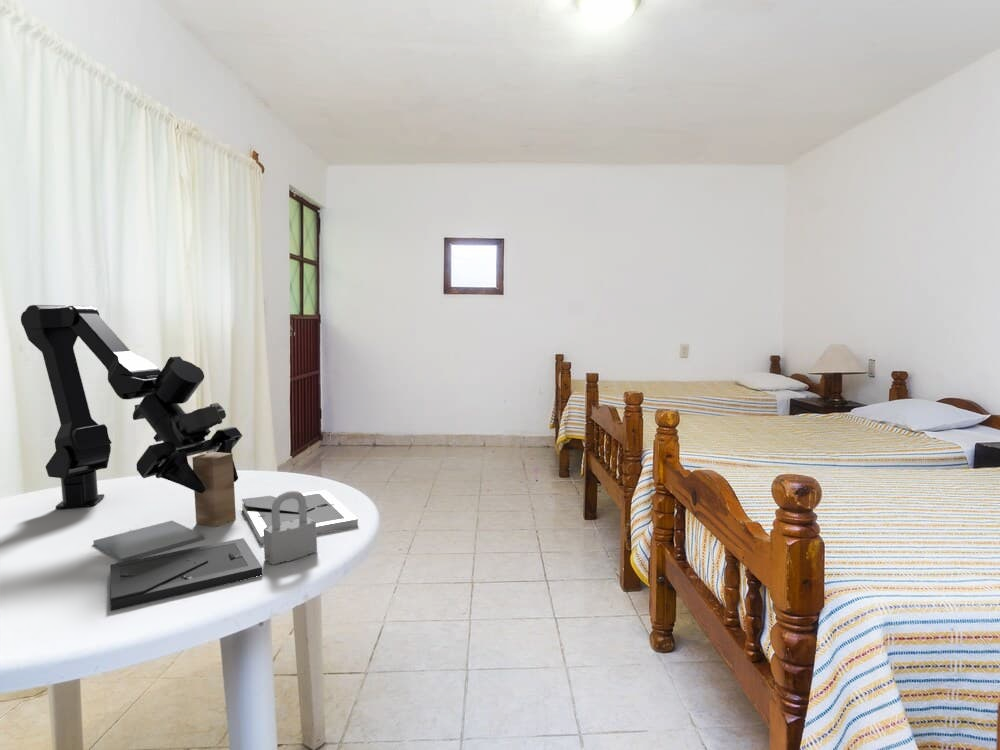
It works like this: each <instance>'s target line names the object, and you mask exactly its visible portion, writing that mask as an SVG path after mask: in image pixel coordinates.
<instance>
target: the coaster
mask: <svg viewBox="0 0 1000 750" xmlns="http://www.w3.org/2000/svg"><path fill="white" fill-rule="evenodd" d="M204 539H205V534H202V533H199V531H196V530H193V529H191V528H190V527H187V526H185V525H182V524H180V523H178V522H176V521H174V520H169V521H165V522H161V523H157V524H154V525H153V524H152V525H149V526H146V527H142V528H136V529H134V530H130V531H129V530H128V531H125V532H122V533H117V534H114V535H110V536H106V537H105V536H104V537H102V538H98V539H95V540H94V539H93V540H92V541H93V545H94V546H95V547H97V548H99V549H100V550H102V551H103V552H104V553H107V555H110V556H111V557H113V558H114V559H115V560H117V561H119V562H124V561H129V560H134V559H139V558H144V557H148V556H152V555H153V554H156V553H161V552H164V551H167V550H170V549H175V548H178V547H181V546H184V545H185V546H186V545H188V544H192V543H194V542H195V543H196V542H198V541H201V540H202V541H203V540H204Z"/></svg>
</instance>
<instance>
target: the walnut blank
mask: <svg viewBox="0 0 1000 750" xmlns="http://www.w3.org/2000/svg"><path fill="white" fill-rule="evenodd" d="M233 461H234V458H233V453H221V452H210V453H203V454H200V455H195V456H193V457H192V469H193V471H194V472H195V474H196V475H197V476H198V478H199V479H200V480H201V482H202V484H203V485H204V487H205V491H204V492H203V493H198V492H196V491H194V490H193V493H194V504H195V505H194V506H195V523H196V524H195V525H199V526H205V527H206V526H207V527H213V528H218V527H219V526H223V525H225V524H227V523H229V522H231V521H235V520H236V519H237V517H236V516H237V515H236V512H237V511H236V498H235V494H236V493H235V482H234V474H233Z"/></svg>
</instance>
